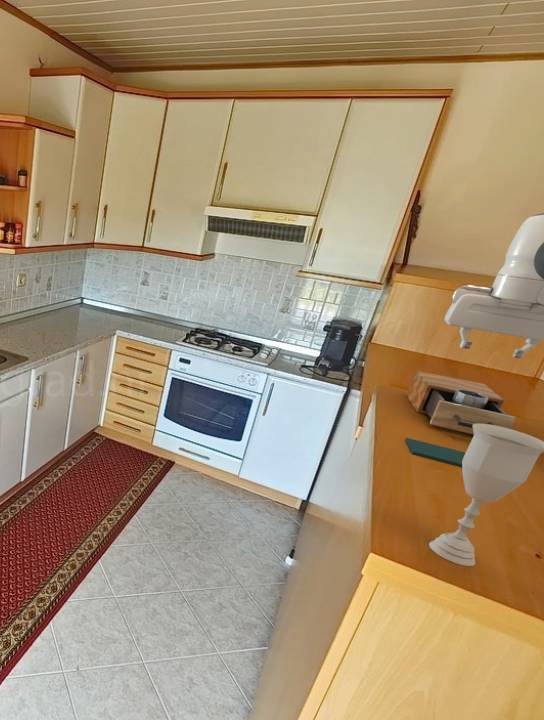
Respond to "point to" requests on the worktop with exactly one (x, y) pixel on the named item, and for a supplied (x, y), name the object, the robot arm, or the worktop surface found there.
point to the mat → (436, 452)
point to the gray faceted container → (470, 399)
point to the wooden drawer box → (463, 413)
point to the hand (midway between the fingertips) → (490, 352)
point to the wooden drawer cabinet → (444, 389)
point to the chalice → (488, 481)
